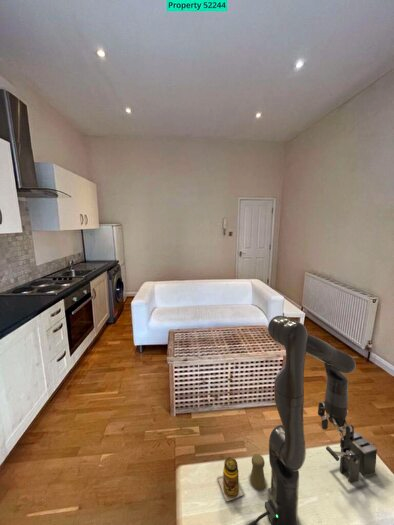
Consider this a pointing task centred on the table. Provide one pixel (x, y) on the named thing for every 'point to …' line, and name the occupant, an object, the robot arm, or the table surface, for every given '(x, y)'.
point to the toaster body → (364, 454)
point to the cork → (257, 472)
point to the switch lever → (339, 453)
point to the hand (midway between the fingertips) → (333, 437)
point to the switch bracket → (350, 465)
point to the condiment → (230, 480)
